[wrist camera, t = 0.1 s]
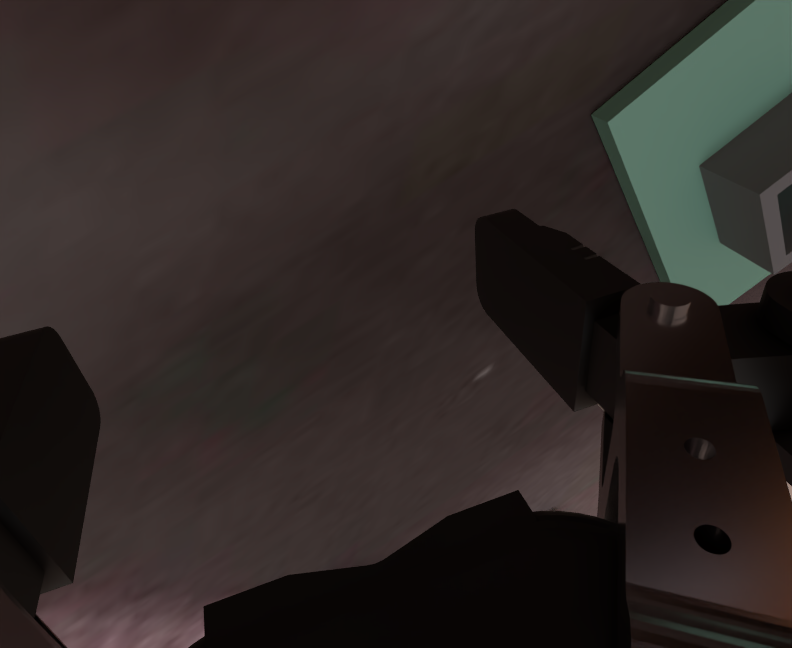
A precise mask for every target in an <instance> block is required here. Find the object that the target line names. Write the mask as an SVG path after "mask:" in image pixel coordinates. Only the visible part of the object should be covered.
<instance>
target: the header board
mask: <svg viewBox="0 0 792 648" xmlns="http://www.w3.org/2000/svg"><path fill="white" fill-rule="evenodd" d="M591 116H592V118H593V121H594V123H595V126H596V128H597V130H598V133H599V135H600V138H601V140H602V142H603V145H604V147H605V150H606V152H607V154H608V157H609V159H610V162H611V164H612V166H613V169H614V171H615V174H616V176H617V178H618V181H619V183H620V186H621V188H622V191H623V193H624V195H625V198H626V200H627V203H628V205H629V207H630V210H631V212H632V215H633V217H634V219H635V222H636V224H637V227H638V229H639V231H640V234H641V236H642V239H643V241H644V243H645V246H646V248H647V251H648V253H649V255H650V258H651V260H652V263H653V265H654V268H655V270H656V272H657V275H658V277H659V280H660V282H670V283H677V284H682V285H686V286H689V287H692V288H695V289H698V290H700V291H702V292H704V293H705V294H707V295H708V296H710V297H711V298H712V299H713V300H714V301H715V302H716V303H717V305H718V306H719V305H728V304H730V303H731V302H733V301H734V300H735V299H737V298H738V297H739V296H741V295H742V294H743V293H745V292H746V291H747V290H749V289H750V288H751V287H753V286H754V285H756V284H757V283H758V282H760V281H761V280H762V279H764V278H765V277H766V276H768V275H769V274H770V273H772V274H773V275H775V274H776V273H777V272H779V271H780V270H781V269H783V268H784V267H786V266H787V265H788V264H790V263H791V262H792V0H728V1H727V2H726V3H724V4H723V5H722V6H721V7H720V8H718V9H717V10H716V11H715V12H714V13H712V14H711V15H710V16H709V17H708V18H706V19H705V20H704V21H703V22H702V23H700V24H699V25H698V26H697V27H696V28H694V29H693V30H692V31H691V32H690V33H688V34H687V35H686V36H685V37H684V38H682V39H681V40H680V41H679V42H678V43H676V44H675V45H674V46H673V47H672V48H670V49H669V50H668V51H667V52H666V53H664V54H663V55H662V56H661V57H660V58H658V59H657V60H656V61H655V62H654V63H652V64H651V65H650V66H649V67H648V68H647V69H645V70H644V71H643V72H642V73H641V74H639V75H638V76H637V77H636V78H635V79H633V80H632V81H631V82H630V83H629V84H627V85H626V86H625V87H624V88H623V89H621V90H620V91H619V92H618V93H617V94H615V95H614V96H613V97H612V98H611V99H609V100H608V101H607V102H606V103H605V104H603V105H602V106H601V107H600V108H599V109H597V110H596V111H595V112H594V113H593V114H591Z"/></svg>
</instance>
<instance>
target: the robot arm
mask: <svg viewBox="0 0 792 648" xmlns="http://www.w3.org/2000/svg"><path fill="white" fill-rule="evenodd" d="M475 250H476V283H477V292H478V296H479V299H480V302H481V304H482V307H483V309H484V310H485V312H486V313H487V314H488V316H489V317H490V318H491V319H492V320H493V321H494V322H495V323H496V325H497V326H498V327H499V328H500V329H501V330H502V331H503V332H504V334H505V335H506V336H507V337H508V338H509V339H510V340H511V341H512V343H513V344H514V345H515V346H516V347H517V348H518V349H519V350H520V352H521V353H522V354H523V355H524V356H525V357H526V358H527V359H528V361H529V362H530V363H531V364H532V365H533V366H534V367H535V368H536V370H537V371H538V372H539V373H540V374H541V375H542V376H543V377H544V379H545V380H546V381H547V382H548V383H549V384H550V385H551V386H552V388H553V389H554V390H555V391H556V392H557V393H558V394H559V395H560V397H561V398H562V399H563V400H564V401H565V402H566V403H567V404H568V406H569V407H570V408H571V409H572V410H573V411H574V412H575V411H578V410H581V409H584V408H587V407H590V406H593V405H596V404H599V405H600V406H601V407H602V408H603V409H604V413H603V420H602V432H601V454H600V476H599V498H598V513H597V517H595V516H590V515H585V514H581V513H573V512H564V511H536V512H532V510H531V509H530V507H529V506H528V504H527V503H526V501H525V500H524V498H523V497H522V495H521V493H520V492H519V490H517V491H514V492H512V493H509V494H506V495H504V496H501V497H498V498H495V499H493V500H490V501H487V502H485V503H482V504H479V505H476V506H474V507H471V508H468V509H466V510H463V511H460V512H458V513H455V514H452V515H449V516H447V517H446V518H444V519H443V520H441V521H440V522H438V523H437V524H435V525H434V526H433V527H431V528H430V529H428V530H427V531H425V532H424V533H422V534H421V535H419V536H418V537H416V538H415V539H413V540H412V541H410V542H409V543H408V544H406V545H405V546H403V547H402V548H400V549H399V550H397V551H396V552H394V553H393V554H391V555H390V556H388V557H387V558H385V559H384V560H382V561H380V562H378V563H376V564H372V565H367V566H359V567H351V568H342V569H334V570H326V571H318V572H310V573H301V574H293V575H287V576H284V577H282V578H279V579H276V580H274V581H271V582H268V583H265V584H263V585H260V586H257V587H255V588H252V589H249V590H247V591H244V592H241V593H238V594H236V595H233V596H230V597H228V598H225V599H222V600H220V601H217V602H214V603H211V604H209V605H206V606H204V629H205V636H204V637H203V638H201V639H200V640H198V641H197V642H195V643H194V644H192V645H191V646H190V647H189V648H792V500H791V496H790V493H789V489H788V486H787V482H788V483H789V484H790V485H791V486H792V271H788V272H783V273H779V274H776V275H774V276H772V277H771V278H770V279H769V280H768V281H767V283H766V285H765V288H764V291H763V294H762V297H761V300H760V302H758V303H745V304H732V305H719V306H718V305H717V303H716V302H715V301H714V300H713V299H712V298H711V297H710V296H708V295H707V294H705V293H704V292H702V291H700V290H698V289H695V288H692V287H689V286H686V285H682V284H677V283H670V282H650V283H643V284H640V283H638V282H637V281H635V280H634V279H633V278H631V277H630V276H628V275H627V274H625V273H624V272H622V271H621V270H619V269H618V268H616V267H615V266H614V265H612V264H611V263H609V262H608V261H606V260H605V259H603V258H602V257H600V256H599V257H597V255H596V253H595V252H593V251H592V250H590V249H589V248H587V247H583V244H581V243H580V242H579V241H577V240H576V239H574V238H573V237H571V236H570V235H568V234H567V233H565V232H561V231H558V230H555V229H552V228H549V227H546V226H539V225H537V224H536V223H534V222H533V221H532V220H530V219H529V218H527V217H526V216H525V215H523V214H522V213H520V212H519V211H518V210H516V209H511V210H507V211H503V212H499V213H495V214H491V215H487V216H483V217H480V218H478V220H477V222H476V225H475ZM99 430H100V412H99V407H98V404H97V401H96V398H95V396H94V393H93V392H92V390H91V388H90V386H89V385H88V383H87V381H86V380H85V378H84V376H83V374H82V373H81V371H80V369H79V368H78V366H77V364H76V363H75V361H74V359H73V357H72V356H71V354H70V352H69V351H68V349H67V347H66V346H65V344H64V342H63V340H62V339H61V337H60V336H59V334H58V333H57V332H56V331H55V330H54V329H53V328H51V327H43V328H39V329H35V330H31V331H27V332H23V333H19V334H15V335H12V336H8V337H4V338H0V648H67V647H66V646H65V645H64V644H63V642H62V641H61V640H60V639H59V638H58V637H57V636H56V635H55V634H54V633H53V632H52V630H51V629H50V628H49V627H48V626H47V625H46V624H45V623H44V622H43V621H42V620H41V619H40V618H39V617H38V616H37V615H36V609H37V605H38V600H39V596H40V594H42V593H45V592H48V591H51V590H54V589H57V588H60V587H63V586H66V585H69V584H71V583H73V580H74V574H75V568H76V562H77V557H78V551H79V545H80V539H81V534H82V528H83V522H84V516H85V511H86V505H87V499H88V493H89V488H90V482H91V476H92V470H93V465H94V459H95V453H96V447H97V442H98V436H99ZM786 481H787V482H786Z"/></svg>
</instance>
